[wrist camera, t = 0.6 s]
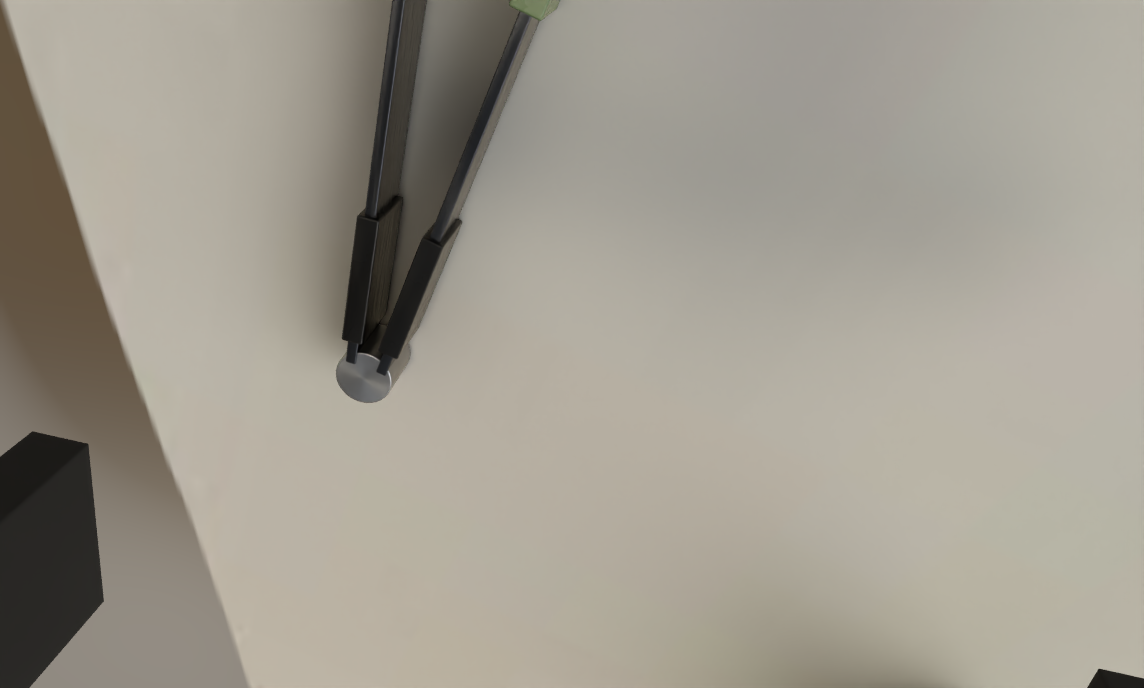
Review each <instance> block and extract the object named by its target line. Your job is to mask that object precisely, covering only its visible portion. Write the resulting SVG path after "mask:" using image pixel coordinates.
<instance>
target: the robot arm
mask: <svg viewBox="0 0 1144 688" xmlns="http://www.w3.org/2000/svg"><path fill="white" fill-rule="evenodd" d="M103 601H104V599H103V589H102V579H101V568H100V558H99V549H98V538H97V528H96V518H95V508H94V498H93V487H92V477H91V468H90V457H89V447H88V444H86V443H82V442H77V441H73V440H68V439H64V438H59V437H55V436H50V435H46V434H41V433H37V432H31V433H30V434H29V435H27V436H26V437H25V438H24V439H22V440H21V441H20V442H18V443H17V444H16V445H15V446H13V447H12V448H11V449H10V450H8V451H7V452H6V453H5V454H3V455H2V456H1V457H0V688H29V687H30V686H31V685H32V684H33V683H34V682H35V681H36V679H37V678H38V677H39V676H40V674H42V672H43V671H44V670H45V669H46V667H48V665H49V664H50V663H51V662H52V661H53V660H54V658H55V657H56V656H57V655H58V653H60V651H61V650H62V649H63V648H64V647H65V646H66V645H67V643H68V642H69V641H70V640H71V639H72V637H73V636H74V635H75V634H76V633H77V631H79V629H80V628H81V627H82V626H83V625H84V623H85V622H86V621H87V620H88V619H89V618H90V617H91V615H92V614H93V613H94V612H95V611H96V610H97V608H98V607H99V606H100V605H101V604H102V602H103ZM1087 688H1144V679H1143V678H1139V677H1134V676H1130V675H1125V674H1121V673H1116V672H1112V671H1107V670H1103V669H1098V671H1097V673H1096V674H1095V676H1094V678H1093V679H1092V681H1091V682H1090V684H1089V686H1088V687H1087Z"/></svg>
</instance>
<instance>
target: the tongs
mask: <svg viewBox="0 0 1144 688" xmlns="http://www.w3.org/2000/svg"><path fill="white" fill-rule="evenodd" d="M559 1H560V0H510V2H509V5H510V6H511V7H513V8H515V9H517V10H519V11H520V12H519V14H518V17H517V19H516V22H515V24H514V27H513V29H512V32H511V34H510V37H509V39H508V42H507V45H506V47H505V50H504V52H503V55H502V57H501V60H500V62H499V65H498V67H497V70H496V72H495V75H494V77H493V80H492V82H491V85H490V87H489V90H488V92H487V95H486V97H485V100H484V102H483V105H482V107H481V110H480V112H479V115H478V117H477V120H476V122H475V125H474V127H473V130H472V132H471V135H470V137H469V140H468V142H467V145H466V147H465V150H464V152H463V155H462V157H461V160H460V162H459V165H458V167H457V170H456V172H455V175H454V177H453V180H452V182H451V185H450V187H449V190H448V192H447V195H446V197H445V200H444V202H443V205H442V207H441V210H440V212H439V215H438V217H437V220H436V222H435V223H434V224H433V226H432V227H431V228H430V229H429V230H428V232H427V233H426V234H425V235H424V236H423V238H422V240H421V242H420V245H419V247H418V250H417V252H416V255H415V257H414V260H413V262H412V265H411V268H410V270H409V273H408V275H407V278H406V280H405V283H404V285H403V288H402V290H401V293H400V295H399V298H398V300H397V303H396V306H395V308H394V311H393V313H392V316H391V318H390V321H389V323H388V326H386V325H379V322H380V320H381V319H382V317H383V316H384V315H385V313H386V308H387V301H388V294H389V288H390V281H391V274H392V268H393V261H394V254H395V248H396V241H397V234H398V228H399V221H400V214H401V208H402V201H403V197H400V196H398V192H399V186H400V179H401V172H402V165H403V158H404V152H405V145H406V138H407V131H408V124H409V118H410V111H411V104H412V97H413V90H414V84H415V77H416V70H417V63H418V56H419V50H420V43H421V36H422V29H423V22H424V16H425V9H426V2H427V0H393V1H392V9H391V16H390V24H389V32H388V39H387V47H386V55H385V62H384V70H383V78H382V86H381V93H380V101H379V109H378V116H377V124H376V132H375V139H374V147H373V155H372V162H371V170H370V178H369V186H368V193H367V201H366V208H365V209H364V210H363V211H362V212H361V213H360V214H359V215H358V216H357V222H356V230H355V238H354V246H353V254H352V262H351V270H350V278H349V285H348V293H347V301H346V309H345V317H344V325H343V333H342V339H343V340H346V341H348V347H347V352H346V354H345V355H344V356H343V357H342V359H341V360H340V361H339V363H338V365H337V369H336V377H337V381H338V384H339V386H340V387H341V389H342V390H343V391H344V392H345V393H346V394H347V395H348V396H349V397H351V398H353V399H354V400H357V401H360V402H364V403H373V402H377V401H380V400H382V399H383V398H385V397H386V396H387V395H388V393H389V392H390V390H391V389H392V387H393V386H394V384H395V382H396V381H397V379H398V378H399V376H400V375H401V373H402V371H403V370H404V368H405V367H406V365H407V364H408V362H409V359H410V347H409V344H408V343H409V341H410V340H411V338H412V337H413V335H414V334H415V332H416V331H417V329H418V328H419V326H420V323H421V321H422V318H423V316H424V314H425V311H426V309H427V306H428V304H429V301H430V299H431V297H432V294H433V292H434V289H435V287H436V285H437V282H438V280H439V277H440V275H441V273H442V270H443V268H444V265H445V263H446V261H447V258H448V256H449V253H450V251H451V248H452V246H453V244H454V241H455V239H456V236H457V234H458V232H459V229H460V227H461V224H462V221H461V220H459V219H458V218H459V215H460V213H461V210H462V208H463V205H464V203H465V201H466V198H467V196H468V193H469V191H470V188H471V186H472V184H473V181H474V179H475V176H476V174H477V171H478V169H479V167H480V164H481V162H482V159H483V157H484V154H485V152H486V150H487V147H488V145H489V142H490V140H491V137H492V135H493V133H494V130H495V128H496V125H497V123H498V120H499V118H500V116H501V113H502V111H503V108H504V106H505V103H506V101H507V99H508V96H509V94H510V91H511V89H512V86H513V84H514V82H515V79H516V77H517V74H518V72H519V69H520V67H521V65H522V62H523V60H524V57H525V55H526V52H527V50H528V48H529V45H530V43H531V40H532V38H533V35H534V33H535V31H536V28H537V26H538V23H539V21H541V20H543V19H544V18H545V17H546V16H548V15H549V14H550V13H551V12H553V11H554V10H555V9H556V8H557V6H558V4H559Z"/></svg>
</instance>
